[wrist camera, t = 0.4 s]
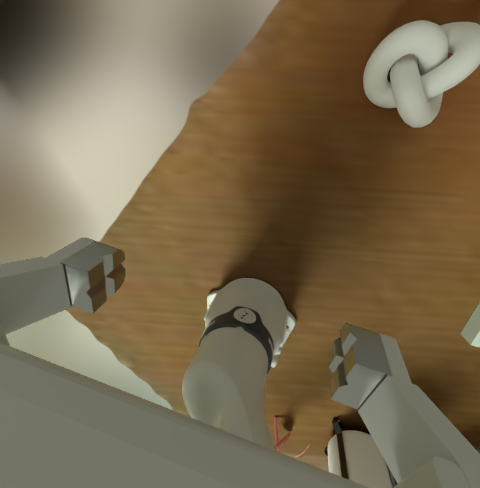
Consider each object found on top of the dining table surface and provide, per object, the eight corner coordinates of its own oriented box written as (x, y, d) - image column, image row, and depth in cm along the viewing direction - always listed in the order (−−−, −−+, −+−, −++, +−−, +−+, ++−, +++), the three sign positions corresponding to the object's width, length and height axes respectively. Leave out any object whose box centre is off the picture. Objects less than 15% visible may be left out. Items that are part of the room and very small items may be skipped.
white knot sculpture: (422, 6, 34) (460, -44, 26) (478, 76, 35) (533, 51, 26) (348, 80, 38) (361, 58, 30) (400, 141, 39) (426, 137, 31)
